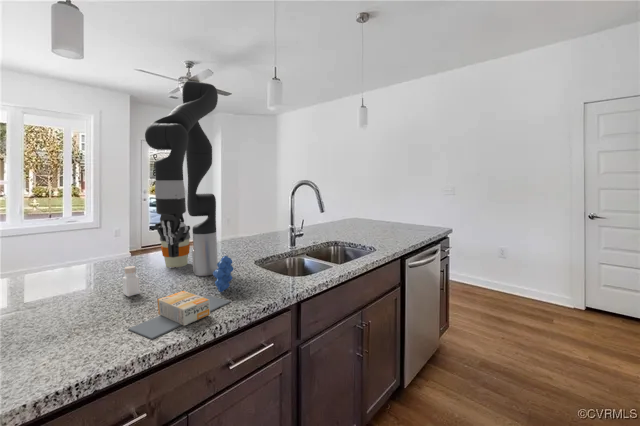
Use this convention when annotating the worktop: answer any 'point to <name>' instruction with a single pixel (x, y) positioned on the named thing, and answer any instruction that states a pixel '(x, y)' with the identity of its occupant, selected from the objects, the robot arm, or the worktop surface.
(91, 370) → the worktop surface
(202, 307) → the supplement box
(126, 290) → the pepper shaker
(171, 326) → the rubber mat
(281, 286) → the worktop surface
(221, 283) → the grapes
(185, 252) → the reusable coffee cup
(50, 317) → the worktop surface
